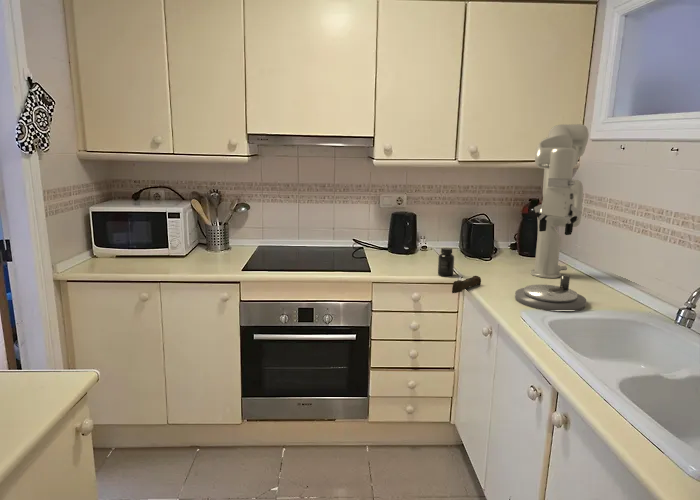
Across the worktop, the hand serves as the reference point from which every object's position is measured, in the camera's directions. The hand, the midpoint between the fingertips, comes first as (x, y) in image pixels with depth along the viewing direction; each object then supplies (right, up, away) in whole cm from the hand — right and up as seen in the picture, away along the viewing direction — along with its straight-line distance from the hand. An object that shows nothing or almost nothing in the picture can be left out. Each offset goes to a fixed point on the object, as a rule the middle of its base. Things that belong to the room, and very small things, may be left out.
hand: (554, 232), depth 168 cm
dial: (+1, -23, +6) cm, 23 cm away
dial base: (+1, -25, +6) cm, 26 cm away
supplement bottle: (-30, -17, +43) cm, 55 cm away
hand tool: (-26, -22, +21) cm, 40 cm away
